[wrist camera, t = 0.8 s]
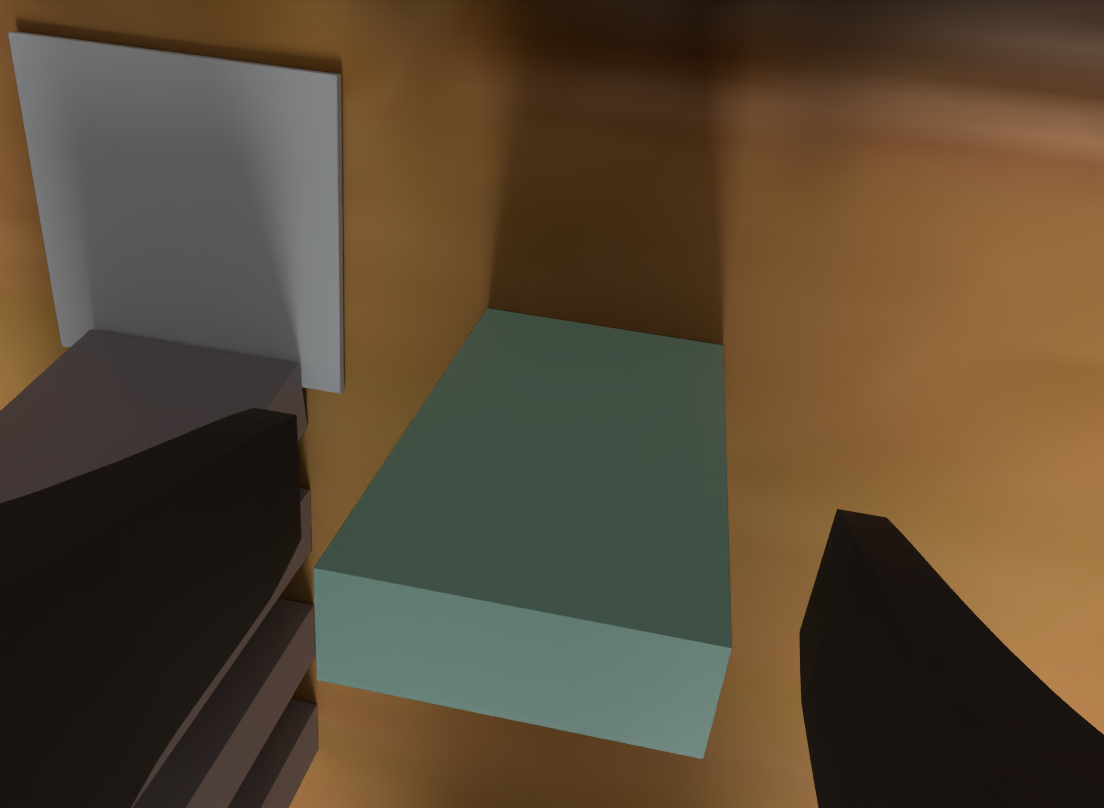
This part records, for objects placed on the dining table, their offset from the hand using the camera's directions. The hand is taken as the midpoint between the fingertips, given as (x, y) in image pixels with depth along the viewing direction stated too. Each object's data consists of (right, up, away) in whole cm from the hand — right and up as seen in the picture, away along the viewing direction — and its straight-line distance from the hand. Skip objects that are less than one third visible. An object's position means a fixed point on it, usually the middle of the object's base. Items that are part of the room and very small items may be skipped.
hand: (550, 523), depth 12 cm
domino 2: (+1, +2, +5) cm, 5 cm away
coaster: (-7, +5, +5) cm, 10 cm away
